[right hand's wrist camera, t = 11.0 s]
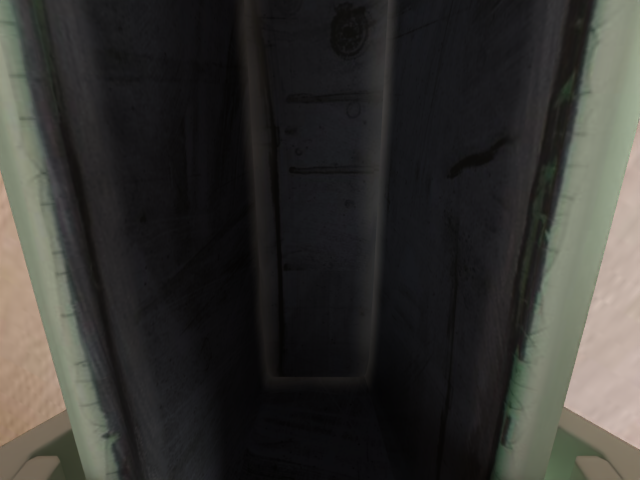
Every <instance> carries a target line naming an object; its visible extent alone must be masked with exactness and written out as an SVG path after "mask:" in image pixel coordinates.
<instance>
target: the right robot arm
mask: <svg viewBox="0 0 640 480" xmlns="http://www.w3.org/2000/svg"><path fill="white" fill-rule="evenodd" d="M0 480H86V478H85V474H84V471H83V467H82V463H81V460H80V456H79V453H78V449H77V445H76V442H75V438H74V434H73V431H72V427H71V424H70V420H69V416H68V413H67V410H65V411H63V412H61V413H60V414H58V415H56V416H54V417H52V418H51V419H49V420H47V421H45V422H44V423H42V424H40V425H38V426H36V427H35V428H33V429H31V430H29V431H28V432H26V433H24V434H22V435H20V436H19V437H17V438H15V439H13V440H12V441H10V442H8V443H6V444H4V445H3V446H1V447H0ZM544 480H640V450H639V449H637V448H636V447H634V446H632V445H630V444H629V443H627V442H625V441H623V440H621V439H620V438H618V437H616V436H614V435H613V434H611V433H609V432H607V431H606V430H604V429H602V428H600V427H599V426H597V425H595V424H593V423H592V422H590V421H588V420H586V419H585V418H583V417H581V416H579V415H578V414H576V413H574V412H572V411H571V410H569V409H567V408H565V407H563V409H562V413H561V417H560V420H559V424H558V428H557V432H556V436H555V439H554V443H553V447H552V451H551V454H550V458H549V462H548V466H547V469H546V473H545V477H544Z"/></svg>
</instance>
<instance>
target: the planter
mask: <svg viewBox="0 0 640 480" xmlns="http://www.w3.org/2000/svg"><path fill="white" fill-rule="evenodd" d="M639 117H640V0H0V170H1V174H2V178H3V181H4V185H5V189H6V192H7V196H8V199H9V203H10V207H11V210H12V214H13V218H14V221H15V225H16V228H17V232H18V236H19V239H20V243H21V247H22V250H23V254H24V258H25V261H26V265H27V268H28V272H29V276H30V279H31V283H32V287H33V290H34V294H35V298H36V301H37V305H38V308H39V312H40V316H41V319H42V323H43V326H44V330H45V334H46V337H47V341H48V344H49V348H50V352H51V355H52V359H53V362H54V366H55V370H56V373H57V377H58V380H59V384H60V388H61V391H62V395H63V398H64V402H65V406H66V409H67V413H68V416H69V420H70V424H71V427H72V431H73V434H74V438H75V442H76V445H77V449H78V453H79V456H80V460H81V463H82V467H83V471H84V474H85V478H86V480H544V477H545V473H546V469H547V466H548V462H549V458H550V454H551V451H552V447H553V443H554V439H555V436H556V432H557V428H558V424H559V420H560V417H561V413H562V409H563V405H564V402H565V398H566V394H567V390H568V387H569V383H570V379H571V375H572V371H573V368H574V364H575V360H576V356H577V353H578V349H579V345H580V341H581V338H582V334H583V330H584V326H585V322H586V319H587V315H588V311H589V307H590V304H591V300H592V296H593V292H594V289H595V285H596V281H597V277H598V273H599V270H600V266H601V262H602V258H603V254H604V251H605V247H606V243H607V239H608V235H609V232H610V228H611V224H612V220H613V216H614V213H615V209H616V205H617V201H618V197H619V194H620V190H621V186H622V182H623V178H624V175H625V171H626V167H627V163H628V159H629V155H630V152H631V148H632V144H633V140H634V136H635V133H636V129H637V125H638V121H639Z"/></svg>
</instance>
